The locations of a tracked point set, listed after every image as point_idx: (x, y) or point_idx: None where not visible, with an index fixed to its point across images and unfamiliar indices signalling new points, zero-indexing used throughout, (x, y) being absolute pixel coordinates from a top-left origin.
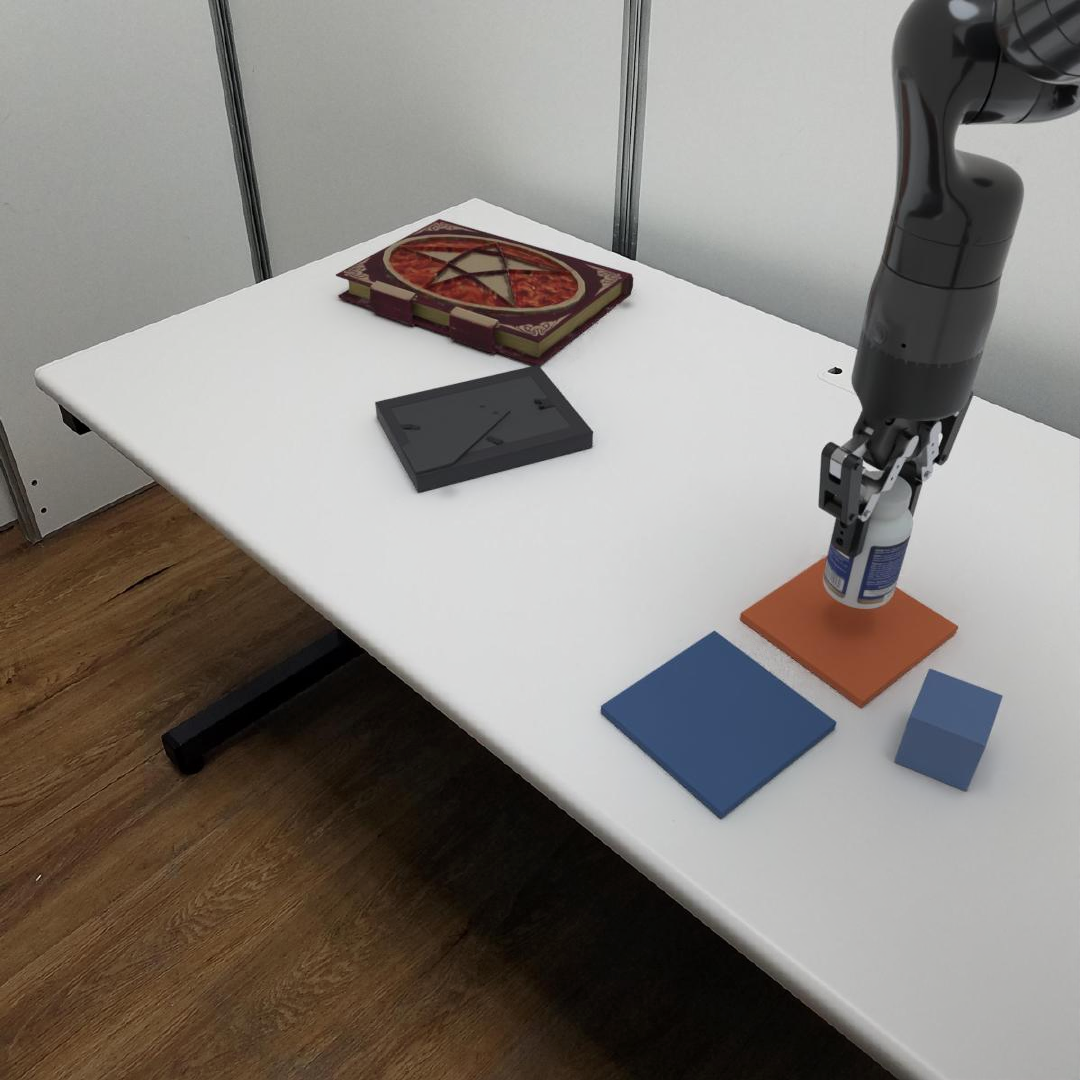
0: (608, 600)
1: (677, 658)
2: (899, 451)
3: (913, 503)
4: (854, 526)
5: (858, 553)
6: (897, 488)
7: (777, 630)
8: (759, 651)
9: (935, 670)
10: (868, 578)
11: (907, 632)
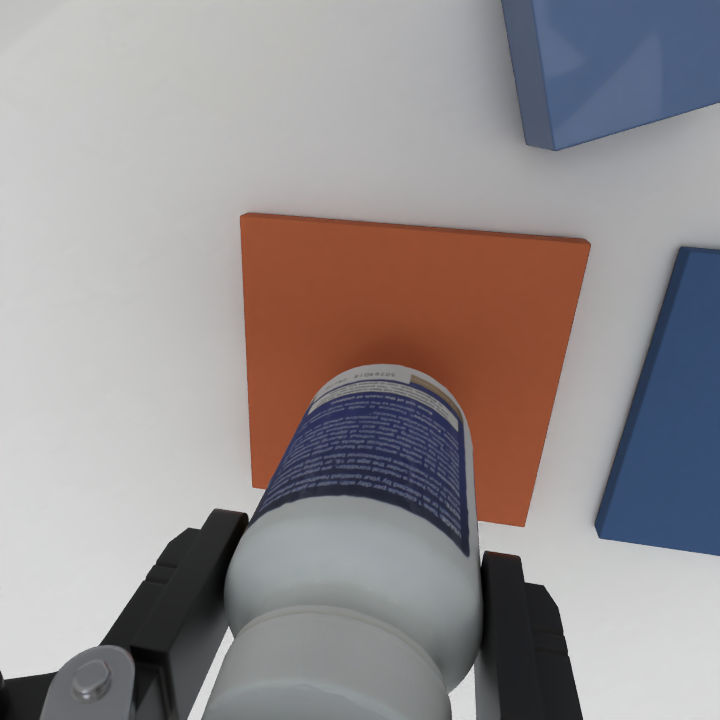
0: (627, 668)
1: (712, 549)
2: None
3: (200, 571)
4: (564, 711)
5: (508, 562)
6: None
7: (521, 463)
8: (571, 455)
9: (551, 133)
10: (457, 456)
11: (338, 284)
